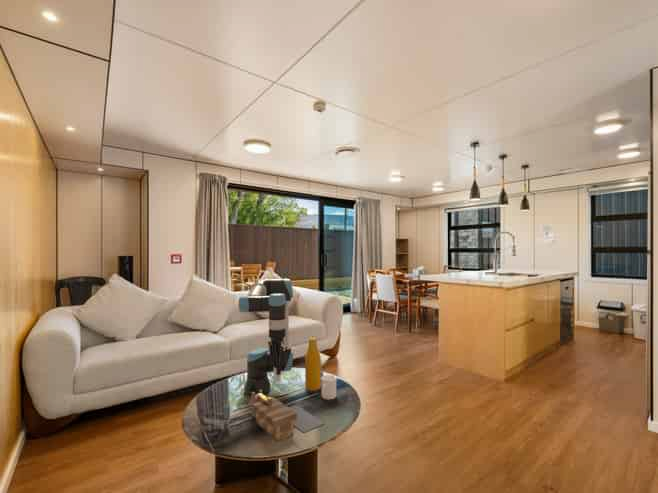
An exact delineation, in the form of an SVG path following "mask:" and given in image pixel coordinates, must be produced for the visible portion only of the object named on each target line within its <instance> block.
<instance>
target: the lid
mask: <svg viewBox="0 0 658 493" xmlns="http://www.w3.org/2000/svg"><path fill="white" fill-rule="evenodd" d="M271 398H272V404H270V405H267V404H266V403H265V402H263V401H260V402H257V403H254V404H253V411H254V412H255V413H257V414H258V415H259V416H260V417H261V418H263V419H264V420H265V421H266V422H268V423H269V424H270V425H271V426H272V427H274V428H277V427H280V426H282V425H285V424H287V423H290V422H292V421H295V420H297V413H296V412H295V411H293V410H292V409H290V408H289V407H290V406H287V405H285V403H283V402H282V401H280V400H279V399H277V398H275V397H274V396H272V397H271Z"/></svg>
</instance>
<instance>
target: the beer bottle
mask: <svg viewBox="0 0 658 493" xmlns="http://www.w3.org/2000/svg"><path fill="white" fill-rule="evenodd" d="M304 361H305V363H304V364H305V369H304V370H305V371H304V372H305V374H304V377H305V380H304V381H305V383H304V386H305V387H304V388H305V389H306V390H307V391H310V392H314V391H315V392H316V391H318V390H320V389H321V378H322V374H321V370H322V368H321V367H322V366H321V362H322V360H321V354H320V351H319V348H318V342H317V338H316V337H310V338H309V340H308V349H307V351H306V354H305V358H304Z"/></svg>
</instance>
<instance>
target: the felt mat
mask: <svg viewBox="0 0 658 493" xmlns="http://www.w3.org/2000/svg"><path fill="white" fill-rule="evenodd" d="M288 407H289V408H290V409H292V410H293V411H295V412H296V413H297V420H295V421H293V427H295V428H296V429H297V430H298V431H300V432H302V433H303V434H305V433H308V432H309V431H312V430H314V429H317V428H318V427H321V426H323V425H325V422H323V421H322V420H321V419H319V418H317V417H315V415H313V414H311V413H310V412H308V411H306V410H305V409H303V408H302V407H300V406H299V405H297V404H294V405H292V406H288Z"/></svg>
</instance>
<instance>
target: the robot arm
mask: <svg viewBox="0 0 658 493" xmlns="http://www.w3.org/2000/svg"><path fill="white" fill-rule="evenodd" d="M292 285H293V283H292V279H290V278H285V277H284V278H264V279H260V280H257V281H256V282H254V283H252V285H251V286H250V288H249V292H248V294H247V295H244V296H240V297H239V299H238V311H239V312H240V313H265V312H266V313H267V312H268V322H267V323H268V328H269V329H268V338H269V339H270V341H268V342H267V344H268V348H269V349H268V348H266V347H265V348H264V347H261V348H255V349H252V350H250V351H249V352H248V353H247V358H246V365H247V368H246V372H247V373H246V374H247V375H246V381H245V383H244V384H245V385H244V387H243V388H244V389H243V391H244V392H243V393H244V394H245V395H247V396H250V397H252V392H254V393H255V395H257V394H259V390H262V391H263V395H266V394H268V393H269V392H271V389H272V388H271V387H272V386H271V383H270V378H269V375H268V373H273V382H274V383H278V382H281V380H282V378H281V377H282V375H281V374H282V372H283V373H284V372H290V371H291V370H292V368H293V367H292V366H293V360H294V350H293V349H292V346H291V345H290V344H289V342H290V341H289V340H290V339H289V331H290V330H289V327H290V326H289V324H290V323H289V322H290V321H289V317H290V315H289V312H290V311H289V309H290V308H289V307H290V306H289V303H291V301H292V299H293V298H294V292H293V291H294V290H293V286H292Z"/></svg>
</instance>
